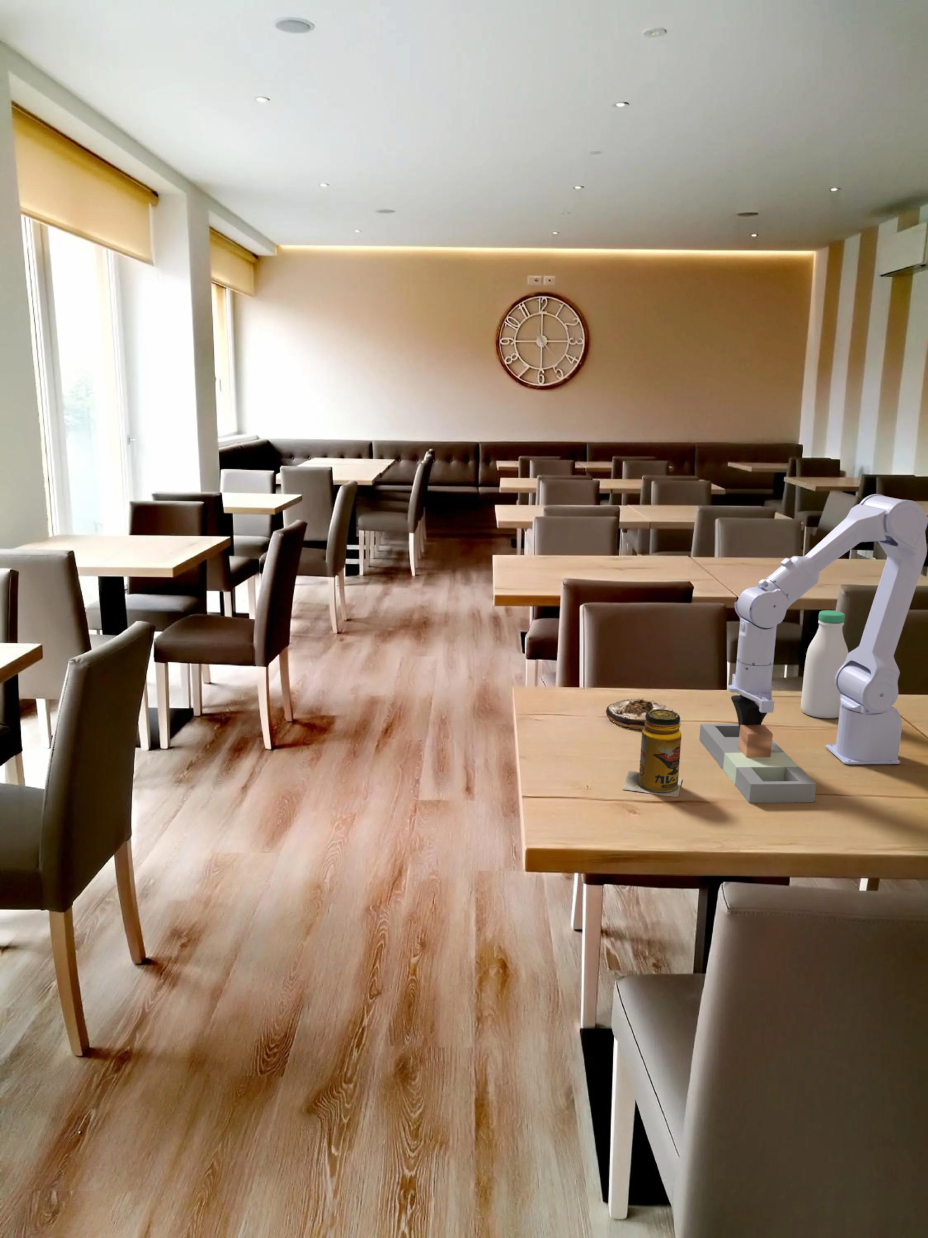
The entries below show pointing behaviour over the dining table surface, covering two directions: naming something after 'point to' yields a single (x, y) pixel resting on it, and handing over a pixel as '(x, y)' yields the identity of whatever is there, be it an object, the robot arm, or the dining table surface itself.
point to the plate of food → (632, 712)
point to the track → (757, 768)
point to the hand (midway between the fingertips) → (747, 739)
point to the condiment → (658, 755)
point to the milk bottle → (824, 667)
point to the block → (755, 741)
